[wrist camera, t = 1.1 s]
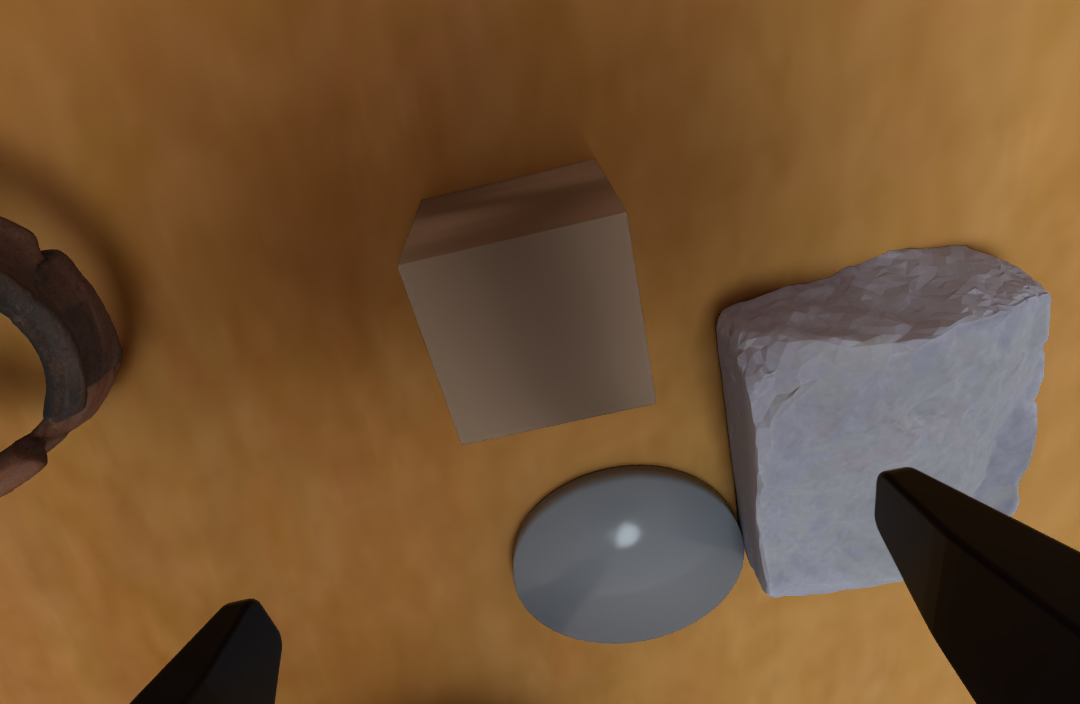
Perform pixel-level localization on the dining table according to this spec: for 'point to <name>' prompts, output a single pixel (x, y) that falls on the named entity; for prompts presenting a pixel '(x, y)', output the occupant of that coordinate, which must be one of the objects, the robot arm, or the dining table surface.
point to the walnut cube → (529, 302)
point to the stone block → (876, 404)
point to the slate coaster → (627, 554)
